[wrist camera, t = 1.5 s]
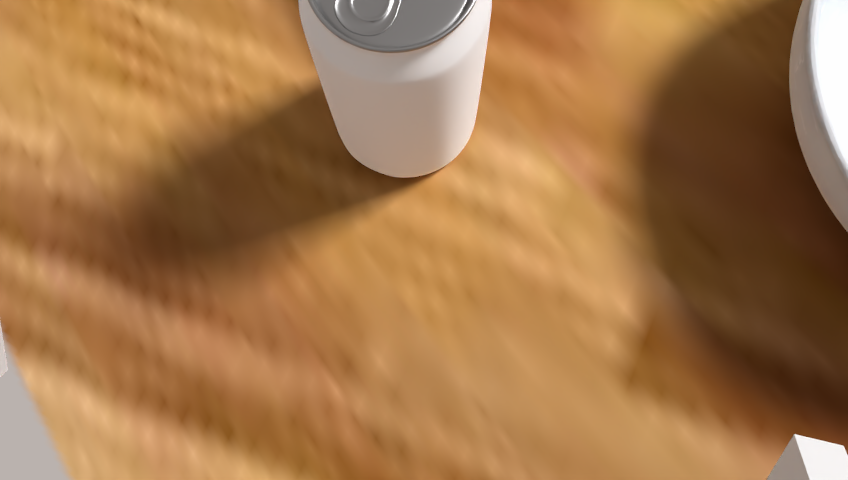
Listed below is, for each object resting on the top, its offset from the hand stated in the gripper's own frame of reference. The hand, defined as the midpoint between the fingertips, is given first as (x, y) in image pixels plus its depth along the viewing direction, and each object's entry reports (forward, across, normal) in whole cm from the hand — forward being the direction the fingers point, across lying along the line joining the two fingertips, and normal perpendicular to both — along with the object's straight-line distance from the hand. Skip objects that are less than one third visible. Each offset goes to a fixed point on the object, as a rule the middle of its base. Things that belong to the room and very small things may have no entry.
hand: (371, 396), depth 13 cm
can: (+24, -3, -6) cm, 25 cm away
